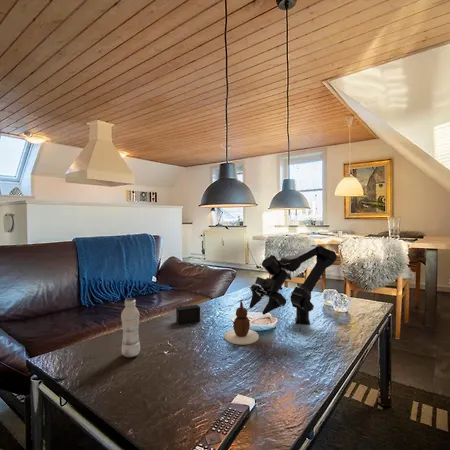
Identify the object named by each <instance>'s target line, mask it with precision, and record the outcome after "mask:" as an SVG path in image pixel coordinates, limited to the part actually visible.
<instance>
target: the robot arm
mask: <svg viewBox="0 0 450 450" xmlns="http://www.w3.org/2000/svg"><path fill="white" fill-rule="evenodd" d="M314 257H316V258H315V259H316V263H315V265H314V266H313V268H312V269H311V271H310V272H309V274H308V276H307V277H306V278H305V280H304V282H303V283H302V285H301V286H300V287H298V286H295V287H294V289H293V291H291V293H290V298H289V299H290V303H291V305H292V307H293V308H295V309H296V311H295V312H296V314H295V318H294V321H295V324H300V325H301V324H302V325H310V324H311V321H310V312H312V311H313V310H314V307H315V306H314V304H313V303H312V302H311V299H312V292H313V290H314V288H315V286H316V285H317V283H318V282H319V280H320V278H321V276H322V275H323V273H324V272H325V270H326V269H327V268H329V267H330V266H332V265H333V264H334V263H335V262H336V260H337V258H338V256H337V253H336V251H335V250H332V249H331V250H330V249H329V248H326V247H324V246H322V245H320V244H311V245H310V246H309V247H307V248H305V249H304V250H301V251H298V252H297V253H296V254H294V255H287V256H283V257H282V258H281V259H280V260H278V259H277V257H276V256H275V255H273V254H271V255H270V256H268V257H266V258H265V259H263V260H262V262H261V266H262V268H264V270H265V271H266V272H267V273H268V274H269V275H270V276H271V277H266V278H262V277H260V276H256V279H255V282H254V284H252V285H251V286H250V287H249V288H250V292H251V295H252V296H251V298H250V299H251V300H250V302H249V306H248V307H249V309H252V308H254V307H255V306H256V305H257V304H258V303H259V302H260V301H262V299H263V297H264V296H265V297H267V298H268V302H267V304H266V306H265V307H264V308H263V310H262V312H261V314H262V315H266V314H268V313H270V312H272V311H274V310H276V309H278V308H282V307H285V306H286V304H287V299H286V298H285V297H284V296H283V294H282V293H281V292H279V291H282V290H283V285H284V283H285V282H286V281H287V280H289V281H291V280H292V276H291V274H292V273H290V272H293V273H294V272H295V271H297V270H298V269H299V268H300V267H301V265H302V264H303V263H305V262H306V261H308V260H309V259H310V260H311V259H312V258H314Z"/></svg>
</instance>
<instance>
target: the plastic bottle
mask: <svg viewBox="0 0 450 450" xmlns="http://www.w3.org/2000/svg"><path fill="white" fill-rule="evenodd" d="M136 303H137V302H136V298H125V299H124V306H125V307H124V308H123V310H122V311H121V315H120V319H121V325H122V343H121V354H122V355H123V357H125V358H133V357H136V356H138V355H139V354H140V351H141V342H140V336H139V322H140V312H139V311H140V310H138V308H137V307H136V305H137V304H136Z"/></svg>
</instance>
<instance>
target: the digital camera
mask: <svg viewBox="0 0 450 450" xmlns="http://www.w3.org/2000/svg"><path fill="white" fill-rule="evenodd" d="M175 309H176V310H175V311H176V313H175V314H176V318H175V319H176V321H175V322H176V323H177V325H178V326H180V325H186V324H187V325H188V324H193V323H200V322H201V307H200V305H198V304H193V305H186V306H185V305H184V306H181V305H180V306H176V308H175Z"/></svg>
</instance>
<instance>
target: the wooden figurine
mask: <svg viewBox="0 0 450 450" xmlns="http://www.w3.org/2000/svg"><path fill="white" fill-rule="evenodd" d="M239 302H240V303H239V307H237V308H236V310H235V316H236V317H235V319H234V320H233V328H232V329H234V331H235V334H236V335H237V336H239V337H243V336H246V335H247V334H248V331H249V330H250V318H248V309H247V308H246V307H244V303H243V301H242V300H241V299H240V301H239Z"/></svg>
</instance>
